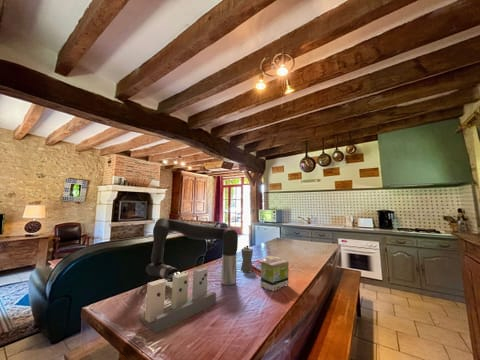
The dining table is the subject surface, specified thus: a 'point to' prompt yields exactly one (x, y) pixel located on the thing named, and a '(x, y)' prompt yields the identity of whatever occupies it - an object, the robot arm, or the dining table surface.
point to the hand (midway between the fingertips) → (186, 280)
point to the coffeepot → (247, 259)
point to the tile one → (155, 299)
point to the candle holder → (271, 257)
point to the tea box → (274, 274)
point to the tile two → (179, 290)
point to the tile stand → (180, 312)
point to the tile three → (199, 282)
